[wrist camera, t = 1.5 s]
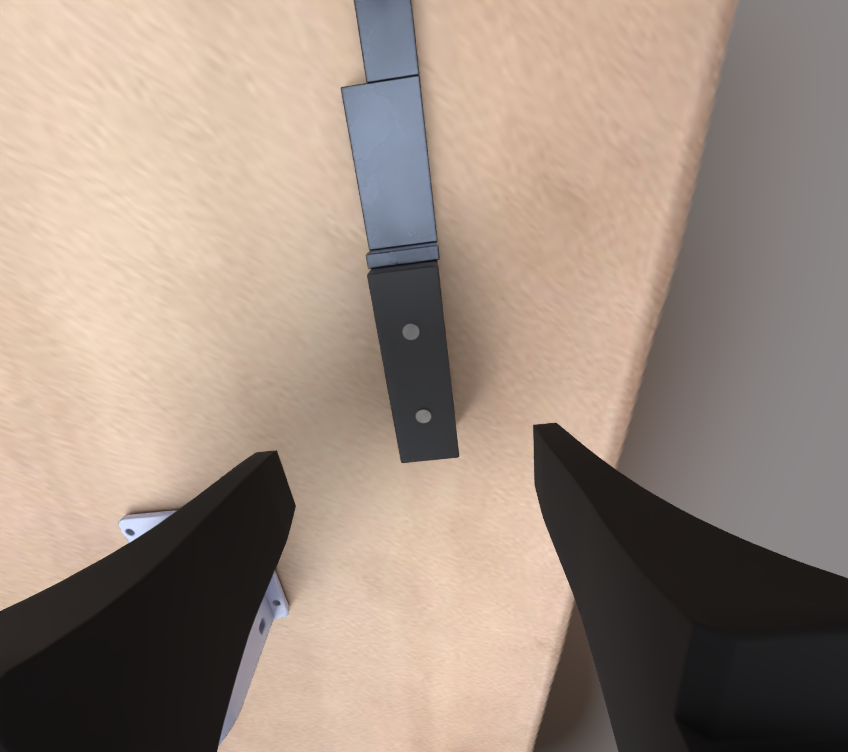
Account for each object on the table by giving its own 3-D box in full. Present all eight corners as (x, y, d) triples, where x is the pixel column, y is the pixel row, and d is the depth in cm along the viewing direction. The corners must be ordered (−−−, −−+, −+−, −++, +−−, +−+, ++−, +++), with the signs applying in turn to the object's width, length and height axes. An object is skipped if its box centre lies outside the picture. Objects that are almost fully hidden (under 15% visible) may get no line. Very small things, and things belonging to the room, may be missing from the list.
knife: (457, 426, 22) (461, 459, 19) (402, 432, 22) (398, 465, 20) (406, -44, 14) (401, -97, 12) (321, -29, 14) (298, -78, 12)
